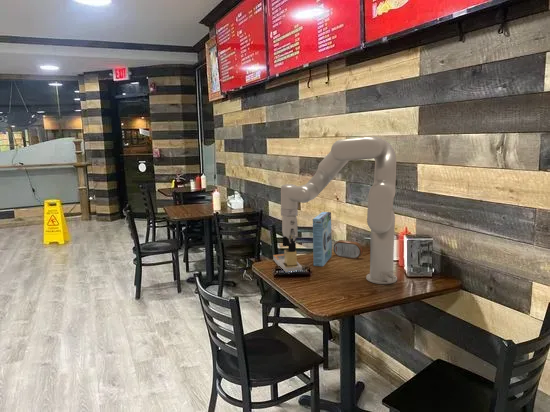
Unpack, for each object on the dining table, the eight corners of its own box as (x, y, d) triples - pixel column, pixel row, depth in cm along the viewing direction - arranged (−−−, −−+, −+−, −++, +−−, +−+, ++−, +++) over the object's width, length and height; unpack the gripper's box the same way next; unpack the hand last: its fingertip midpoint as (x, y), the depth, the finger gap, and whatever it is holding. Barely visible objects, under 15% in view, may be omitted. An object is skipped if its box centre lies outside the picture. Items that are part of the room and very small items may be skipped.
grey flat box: (302, 272, 190) (302, 266, 190) (285, 274, 188) (285, 268, 188) (288, 259, 211) (288, 253, 211) (273, 261, 209) (273, 255, 209)
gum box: (323, 267, 197) (322, 219, 194) (312, 266, 199) (311, 218, 195) (332, 256, 215) (331, 212, 212) (322, 255, 217) (321, 211, 213)
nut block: (296, 270, 192) (296, 250, 191) (287, 271, 191) (286, 251, 190) (294, 267, 197) (293, 248, 195) (284, 268, 196) (284, 249, 194)
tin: (363, 258, 210) (363, 242, 208) (360, 260, 207) (360, 243, 206) (335, 254, 218) (335, 238, 216) (332, 256, 215) (332, 240, 214)
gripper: (303, 215, 182) (302, 253, 185) (291, 208, 199) (291, 243, 202) (286, 216, 181) (286, 254, 184) (276, 209, 197) (276, 244, 200)
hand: (289, 248), depth 193 cm, fingers open, 9 cm apart
